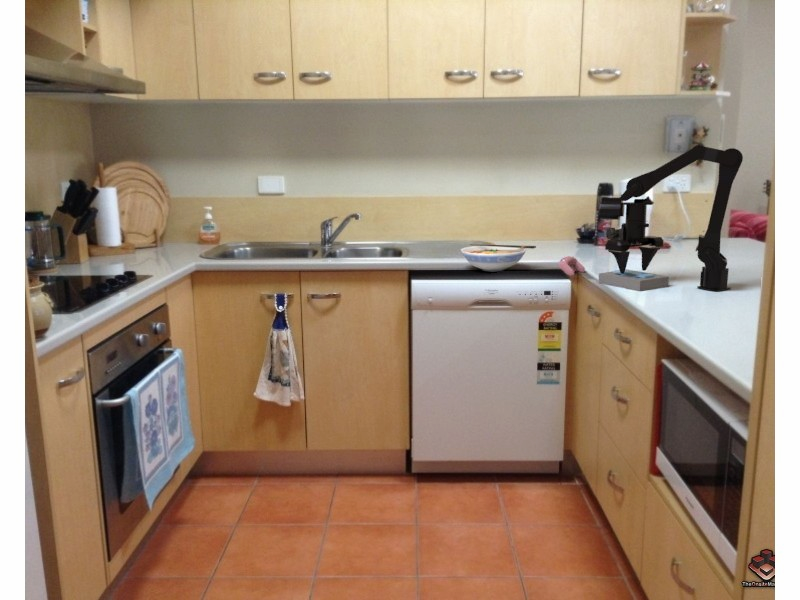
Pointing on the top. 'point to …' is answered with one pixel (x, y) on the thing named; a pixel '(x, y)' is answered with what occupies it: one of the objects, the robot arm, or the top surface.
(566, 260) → the video game controller
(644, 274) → the light blue bar
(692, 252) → the top surface
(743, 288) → the top surface
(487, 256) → the ramen bowl
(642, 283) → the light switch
